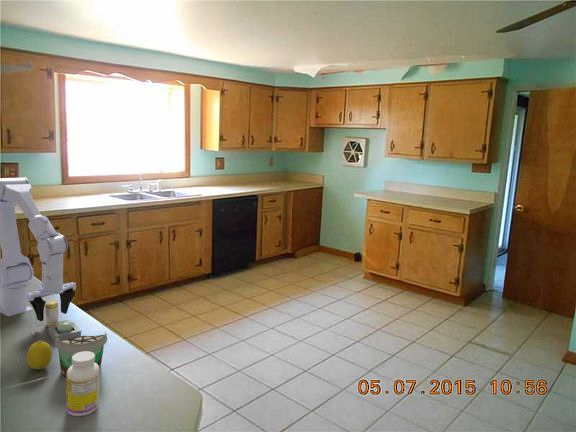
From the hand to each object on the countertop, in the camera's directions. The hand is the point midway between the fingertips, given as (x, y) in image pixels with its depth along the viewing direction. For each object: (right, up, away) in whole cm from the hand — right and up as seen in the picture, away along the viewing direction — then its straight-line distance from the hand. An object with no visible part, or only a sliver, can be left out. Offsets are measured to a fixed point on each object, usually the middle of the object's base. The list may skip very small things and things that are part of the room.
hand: (52, 316), depth 135 cm
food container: (+21, -10, -24) cm, 33 cm away
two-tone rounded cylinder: (0, -3, 0) cm, 3 cm away
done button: (+7, -3, -6) cm, 10 cm away
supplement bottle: (+27, -12, -37) cm, 47 cm away
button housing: (+7, -5, -6) cm, 10 cm away
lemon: (+10, -8, -24) cm, 27 cm away
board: (+2, -4, -4) cm, 6 cm away
